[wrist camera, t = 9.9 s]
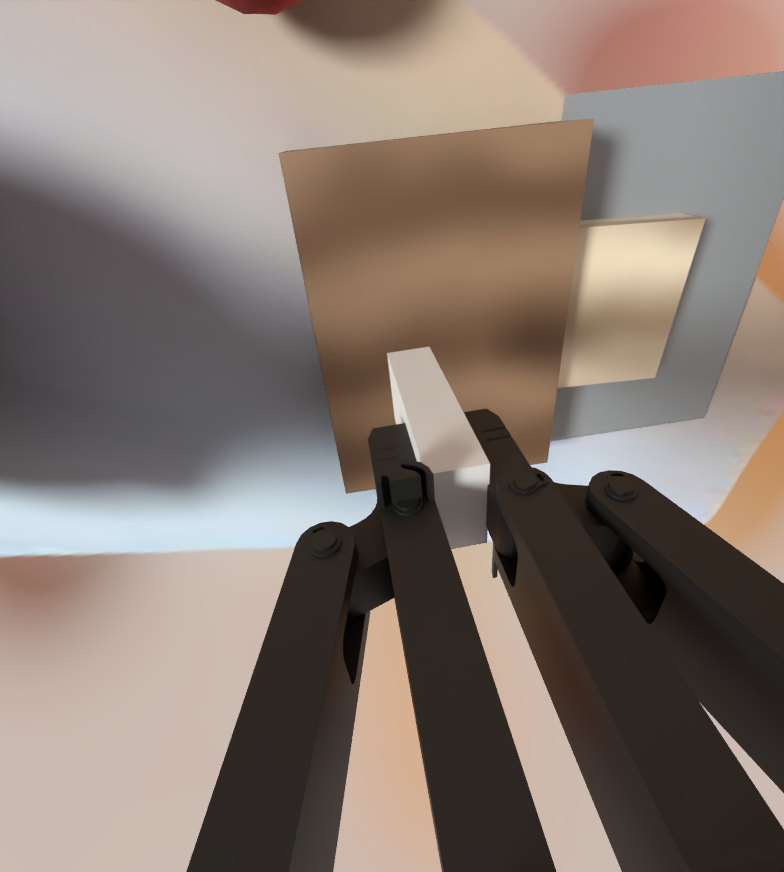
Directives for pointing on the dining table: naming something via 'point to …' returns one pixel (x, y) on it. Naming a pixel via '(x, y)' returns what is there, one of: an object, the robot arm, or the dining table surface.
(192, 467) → the dining table surface
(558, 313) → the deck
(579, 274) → the tile
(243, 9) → the onion
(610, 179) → the mat
